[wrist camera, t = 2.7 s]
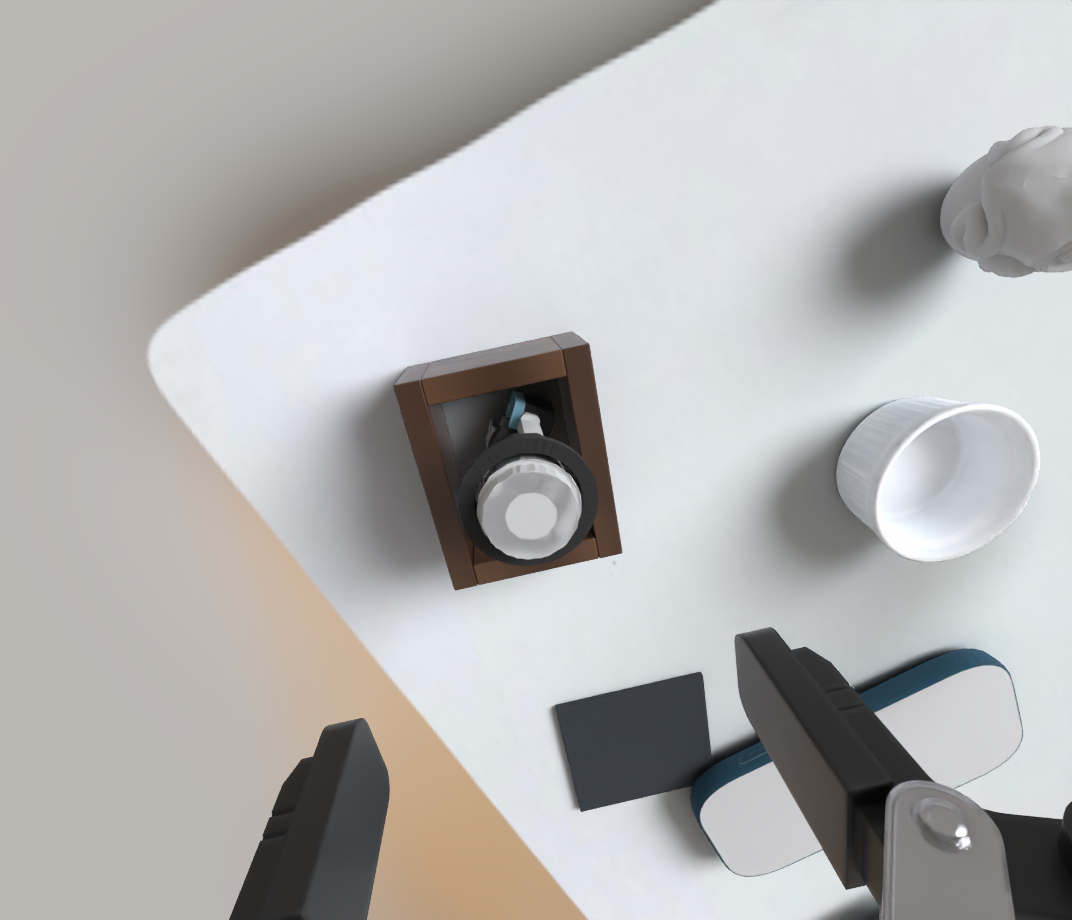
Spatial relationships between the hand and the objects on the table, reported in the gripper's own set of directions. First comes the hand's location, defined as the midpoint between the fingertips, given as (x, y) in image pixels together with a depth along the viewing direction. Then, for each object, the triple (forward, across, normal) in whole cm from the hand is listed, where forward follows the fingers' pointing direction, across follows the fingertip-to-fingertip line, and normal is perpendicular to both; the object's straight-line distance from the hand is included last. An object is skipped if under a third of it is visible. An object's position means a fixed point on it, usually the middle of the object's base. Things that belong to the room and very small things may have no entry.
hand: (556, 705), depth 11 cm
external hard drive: (+19, -19, +30) cm, 40 cm away
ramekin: (+19, -22, +6) cm, 30 cm away
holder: (+18, 0, 0) cm, 19 cm away
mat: (+18, -4, +24) cm, 30 cm away
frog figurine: (+19, -25, -6) cm, 32 cm away
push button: (+19, 0, 0) cm, 19 cm away
